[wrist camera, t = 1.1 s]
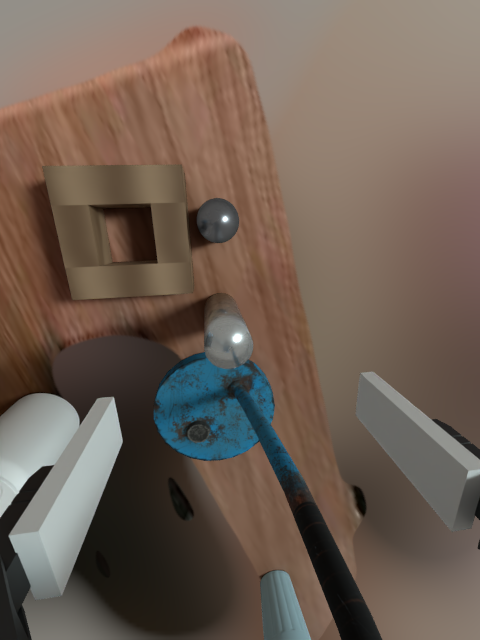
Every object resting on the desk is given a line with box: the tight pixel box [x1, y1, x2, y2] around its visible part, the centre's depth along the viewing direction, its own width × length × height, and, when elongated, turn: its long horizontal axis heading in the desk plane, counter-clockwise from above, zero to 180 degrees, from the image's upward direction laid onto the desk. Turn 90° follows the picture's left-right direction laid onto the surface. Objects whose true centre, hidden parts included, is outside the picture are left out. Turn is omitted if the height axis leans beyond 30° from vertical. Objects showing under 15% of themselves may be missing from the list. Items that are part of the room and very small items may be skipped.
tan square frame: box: [42, 165, 194, 300], centre depth 28 cm, size 12×12×4 cm
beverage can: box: [0, 393, 79, 517], centre depth 30 cm, size 8×8×12 cm
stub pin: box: [197, 198, 239, 243], centre depth 29 cm, size 4×4×5 cm
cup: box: [260, 570, 311, 640], centre depth 46 cm, size 8×8×10 cm
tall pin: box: [204, 293, 253, 369], centre depth 28 cm, size 4×4×12 cm
